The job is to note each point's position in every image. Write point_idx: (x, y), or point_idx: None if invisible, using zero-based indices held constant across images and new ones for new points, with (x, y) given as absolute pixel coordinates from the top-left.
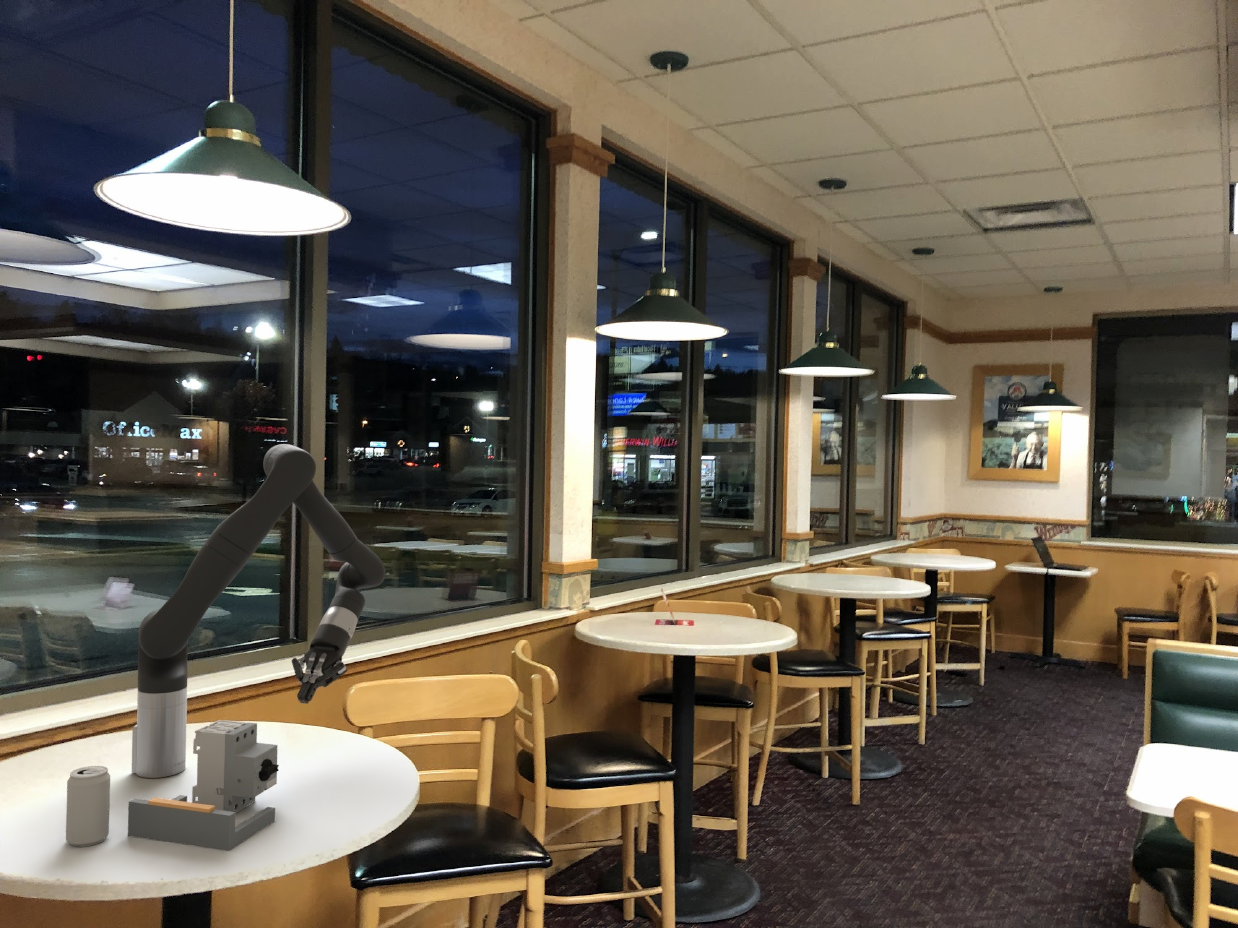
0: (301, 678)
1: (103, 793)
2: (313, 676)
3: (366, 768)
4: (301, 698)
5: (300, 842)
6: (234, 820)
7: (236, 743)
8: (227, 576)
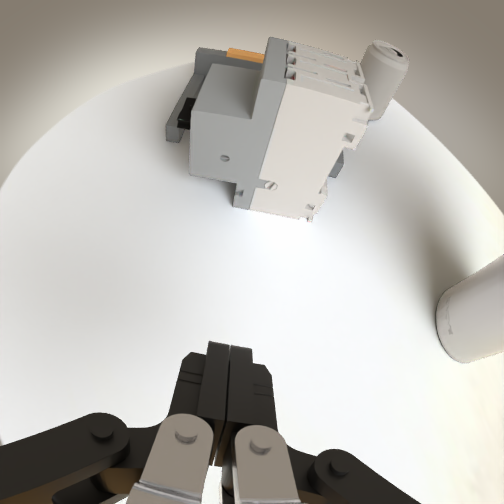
0: (310, 467)
1: (362, 59)
2: (191, 467)
3: (58, 411)
4: (226, 345)
5: (117, 100)
6: (195, 60)
7: (263, 60)
8: None
